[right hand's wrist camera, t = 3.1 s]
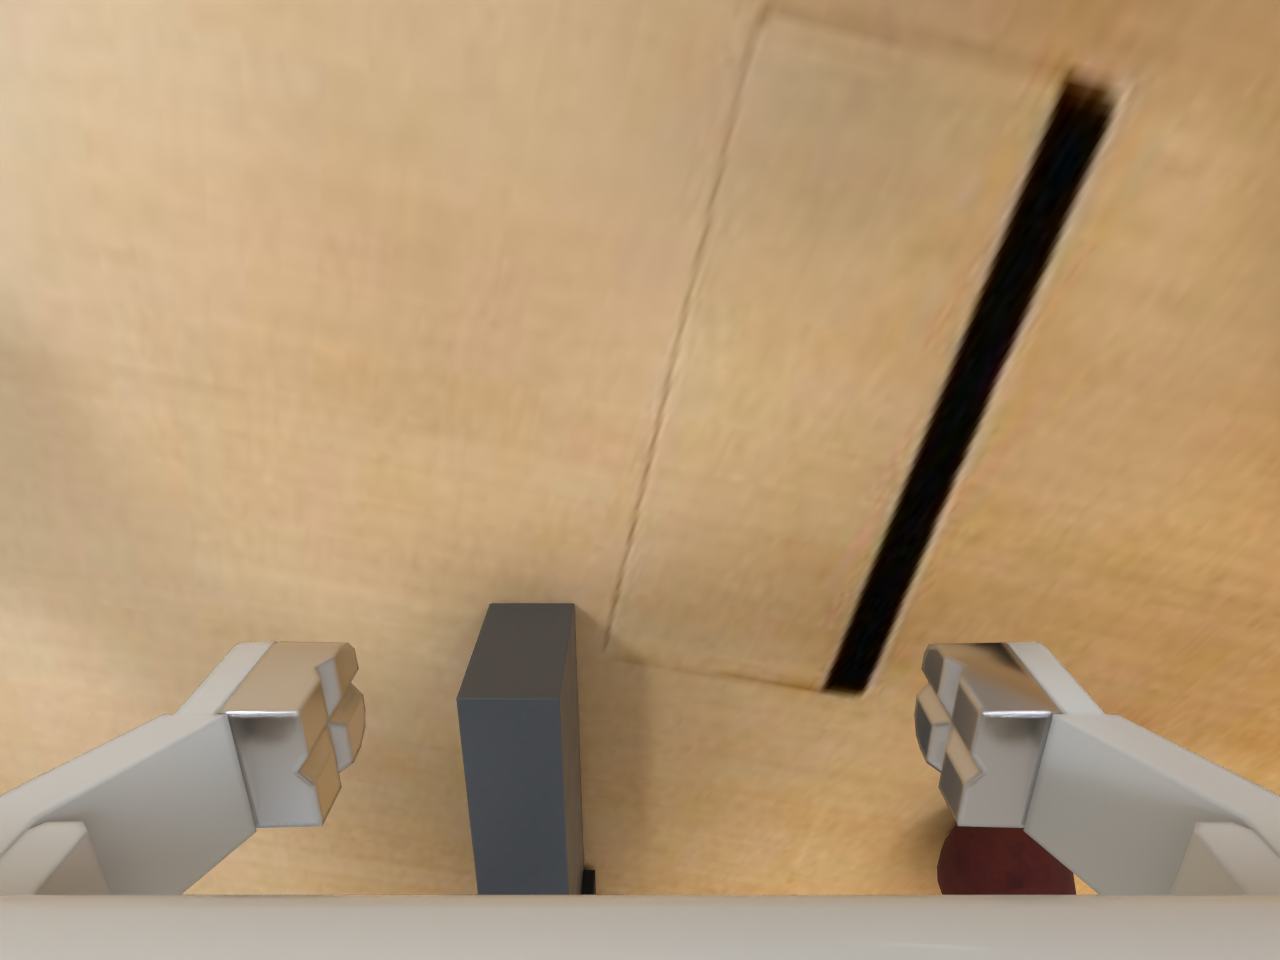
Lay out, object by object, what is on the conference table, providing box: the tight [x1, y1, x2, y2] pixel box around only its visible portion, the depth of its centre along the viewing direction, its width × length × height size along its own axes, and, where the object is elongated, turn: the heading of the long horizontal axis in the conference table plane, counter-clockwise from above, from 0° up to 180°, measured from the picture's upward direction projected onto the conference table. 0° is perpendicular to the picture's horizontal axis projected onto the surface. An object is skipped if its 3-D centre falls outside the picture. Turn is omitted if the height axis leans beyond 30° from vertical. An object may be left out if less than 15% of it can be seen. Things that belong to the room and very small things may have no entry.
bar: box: [457, 604, 584, 895], centre depth 42 cm, size 25×5×8 cm, turn 0°
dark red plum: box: [937, 825, 1076, 895], centre depth 43 cm, size 7×8×7 cm
